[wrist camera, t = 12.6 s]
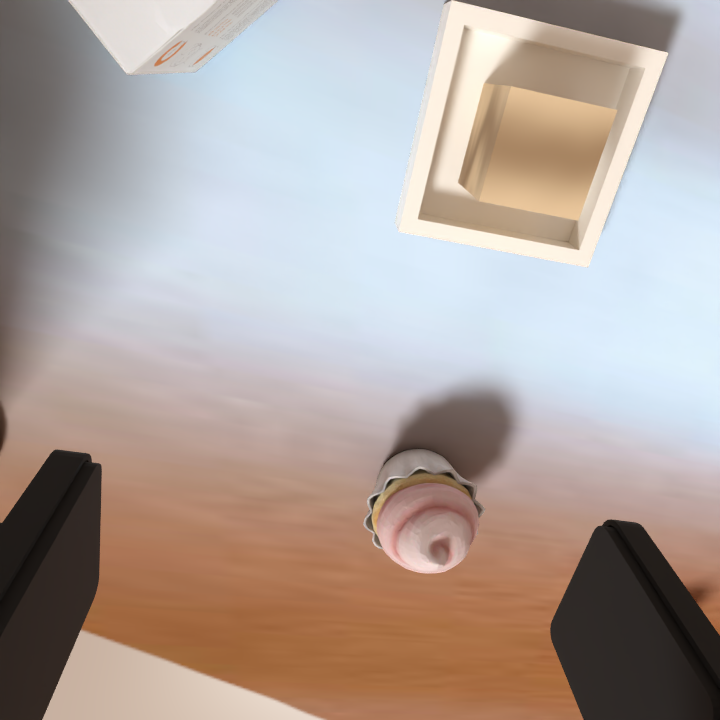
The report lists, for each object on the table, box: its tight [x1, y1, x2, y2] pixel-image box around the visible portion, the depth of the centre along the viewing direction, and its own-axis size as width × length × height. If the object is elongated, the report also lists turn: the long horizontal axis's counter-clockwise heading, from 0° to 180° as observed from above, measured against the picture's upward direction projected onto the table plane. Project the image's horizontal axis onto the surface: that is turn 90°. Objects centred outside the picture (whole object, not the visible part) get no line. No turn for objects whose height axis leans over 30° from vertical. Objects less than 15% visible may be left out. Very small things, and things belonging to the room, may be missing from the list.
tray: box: [395, 0, 668, 267], centre depth 38 cm, size 13×13×3 cm
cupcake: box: [363, 449, 485, 573], centre depth 46 cm, size 9×9×10 cm
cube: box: [458, 83, 617, 221], centre depth 36 cm, size 6×6×6 cm
